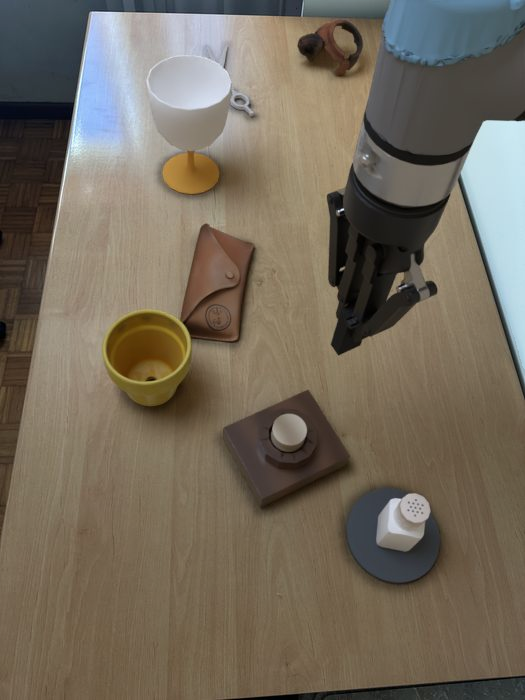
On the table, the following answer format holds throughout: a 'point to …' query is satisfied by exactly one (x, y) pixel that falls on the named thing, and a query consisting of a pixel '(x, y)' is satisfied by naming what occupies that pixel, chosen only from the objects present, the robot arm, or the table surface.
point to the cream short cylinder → (288, 432)
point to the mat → (385, 560)
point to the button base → (278, 466)
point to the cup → (189, 116)
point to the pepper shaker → (402, 522)
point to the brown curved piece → (331, 44)
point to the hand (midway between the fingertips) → (345, 344)
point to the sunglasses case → (216, 286)
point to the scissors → (234, 93)
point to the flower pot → (147, 355)
